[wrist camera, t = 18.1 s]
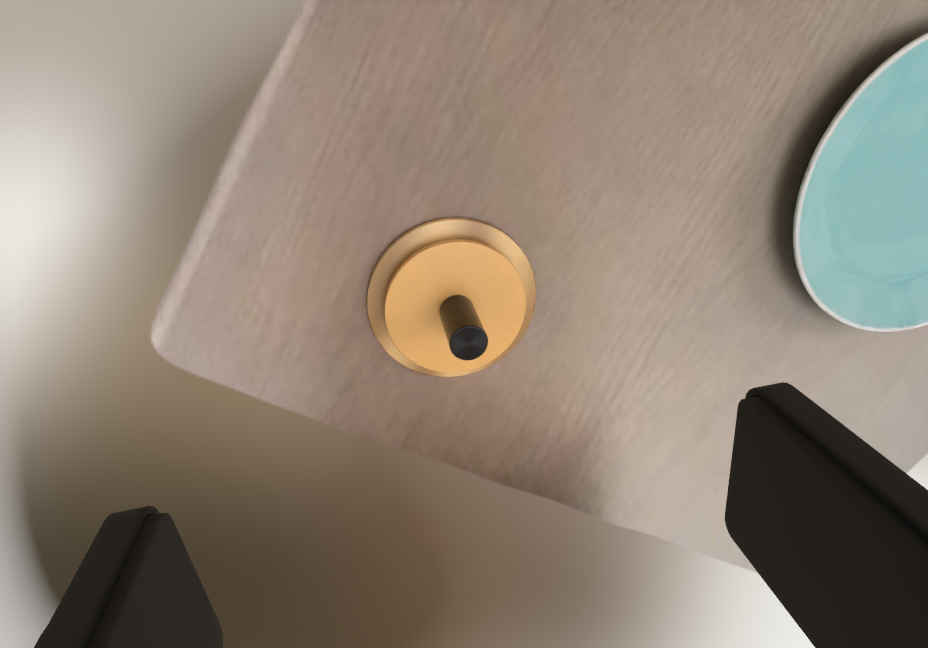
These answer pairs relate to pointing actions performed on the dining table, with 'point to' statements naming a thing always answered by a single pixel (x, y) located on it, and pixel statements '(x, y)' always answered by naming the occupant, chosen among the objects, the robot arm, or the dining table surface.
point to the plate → (871, 202)
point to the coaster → (426, 237)
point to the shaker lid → (454, 305)
